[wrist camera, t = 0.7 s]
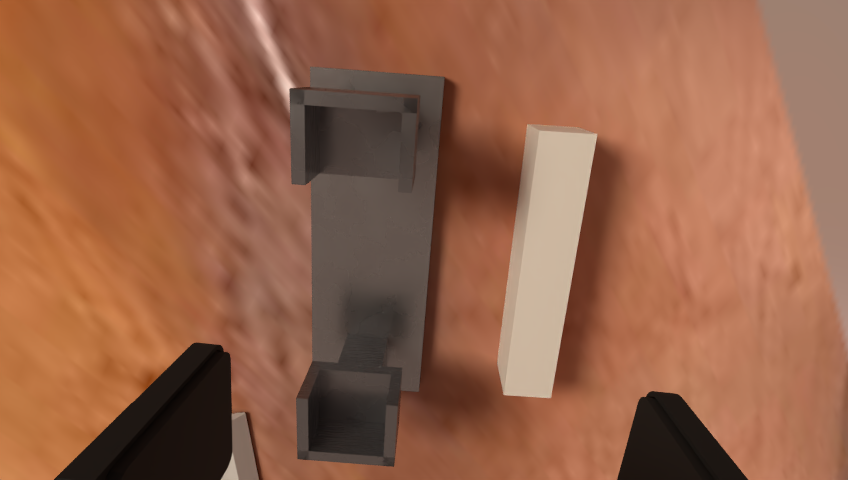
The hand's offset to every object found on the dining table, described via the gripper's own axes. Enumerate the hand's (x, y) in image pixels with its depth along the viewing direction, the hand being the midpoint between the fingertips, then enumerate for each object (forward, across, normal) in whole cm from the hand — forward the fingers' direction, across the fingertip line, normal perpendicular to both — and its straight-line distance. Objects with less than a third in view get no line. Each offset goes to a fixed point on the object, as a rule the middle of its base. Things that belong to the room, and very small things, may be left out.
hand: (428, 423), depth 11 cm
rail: (+30, -9, +5) cm, 32 cm away
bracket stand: (+30, +5, +6) cm, 31 cm away
